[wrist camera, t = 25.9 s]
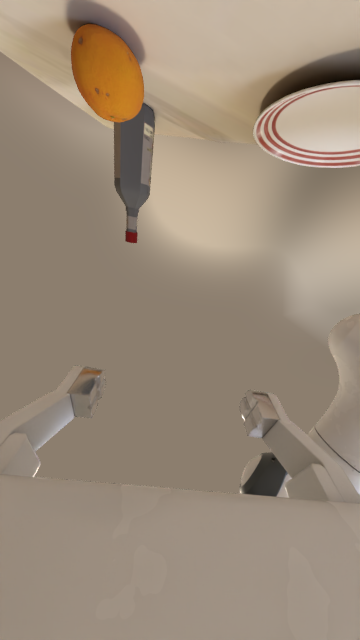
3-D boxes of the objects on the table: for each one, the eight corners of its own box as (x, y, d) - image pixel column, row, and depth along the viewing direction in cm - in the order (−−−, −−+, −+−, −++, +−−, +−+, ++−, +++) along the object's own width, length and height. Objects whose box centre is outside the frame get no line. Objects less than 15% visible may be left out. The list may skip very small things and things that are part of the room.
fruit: (136, 78, 32) (134, 138, 36) (69, 40, 27) (75, 114, 31) (154, 41, 24) (149, 122, 28) (65, -22, 19) (74, 88, 23)
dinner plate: (229, 99, 32) (223, 124, 33) (483, -15, 14) (443, 53, 15) (294, 155, 47) (288, 170, 49) (454, 136, 29) (436, 162, 31)
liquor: (120, 113, 45) (120, 237, 60) (111, 92, 37) (113, 240, 52) (155, 123, 46) (146, 242, 62) (153, 105, 39) (143, 246, 54)
